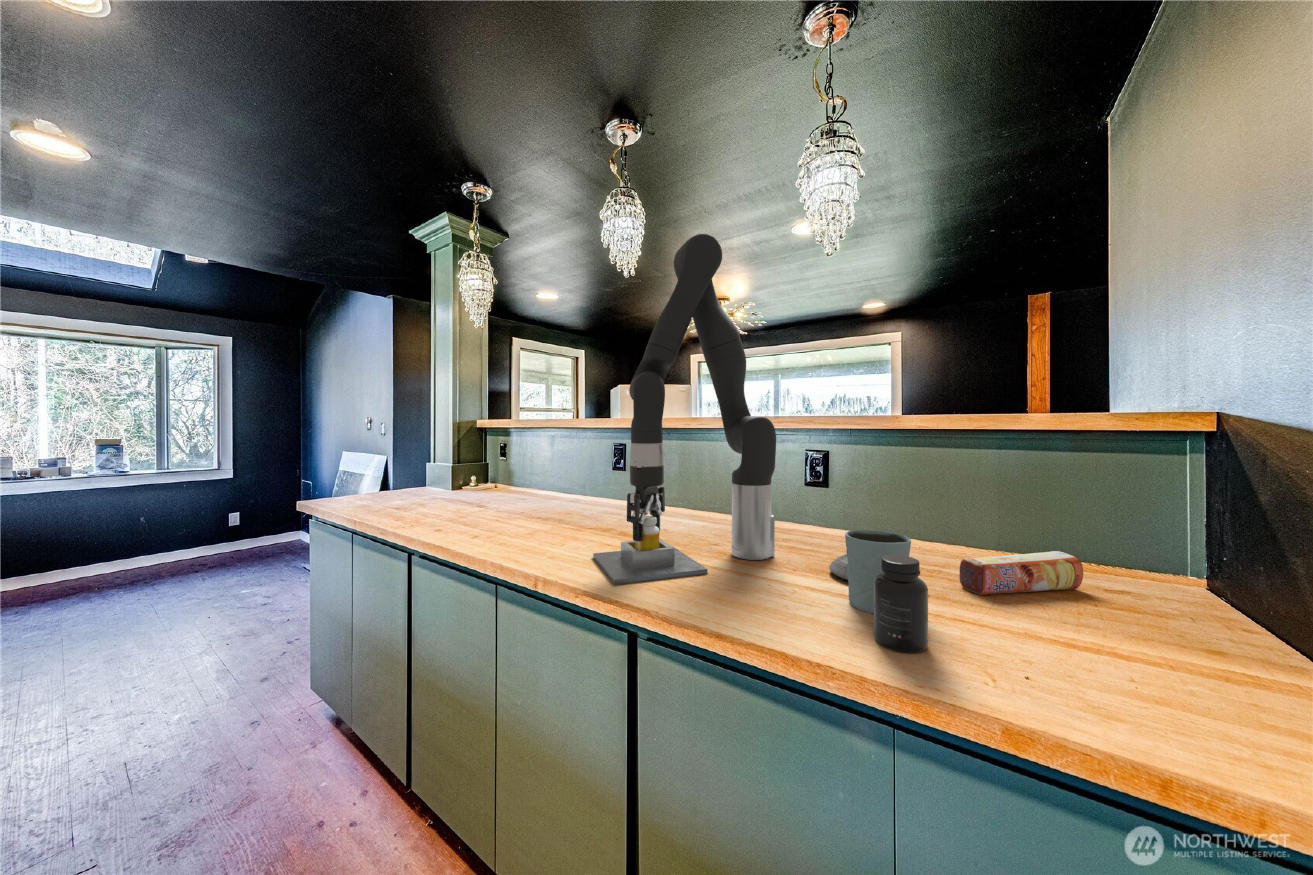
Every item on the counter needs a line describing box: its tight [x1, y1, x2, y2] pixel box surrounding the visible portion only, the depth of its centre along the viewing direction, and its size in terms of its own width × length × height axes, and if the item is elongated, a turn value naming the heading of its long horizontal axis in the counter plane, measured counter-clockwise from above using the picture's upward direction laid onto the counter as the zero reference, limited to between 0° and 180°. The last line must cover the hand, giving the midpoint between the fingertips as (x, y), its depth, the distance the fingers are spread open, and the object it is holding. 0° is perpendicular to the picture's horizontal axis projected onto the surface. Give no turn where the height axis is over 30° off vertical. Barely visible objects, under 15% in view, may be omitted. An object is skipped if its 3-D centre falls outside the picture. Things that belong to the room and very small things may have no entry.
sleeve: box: [592, 538, 709, 586], centre depth 101 cm, size 20×20×4 cm
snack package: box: [959, 550, 1084, 596], centre depth 86 cm, size 21×7×7 cm, turn 98°
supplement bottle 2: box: [873, 555, 929, 654], centre depth 65 cm, size 7×7×12 cm
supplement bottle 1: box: [635, 515, 661, 550], centre depth 101 cm, size 5×5×10 cm
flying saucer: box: [828, 553, 849, 581], centre depth 93 cm, size 15×15×6 cm
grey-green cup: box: [844, 529, 912, 615], centre depth 79 cm, size 10×10×12 cm
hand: (646, 536), depth 101 cm, fingers open, 8 cm apart
